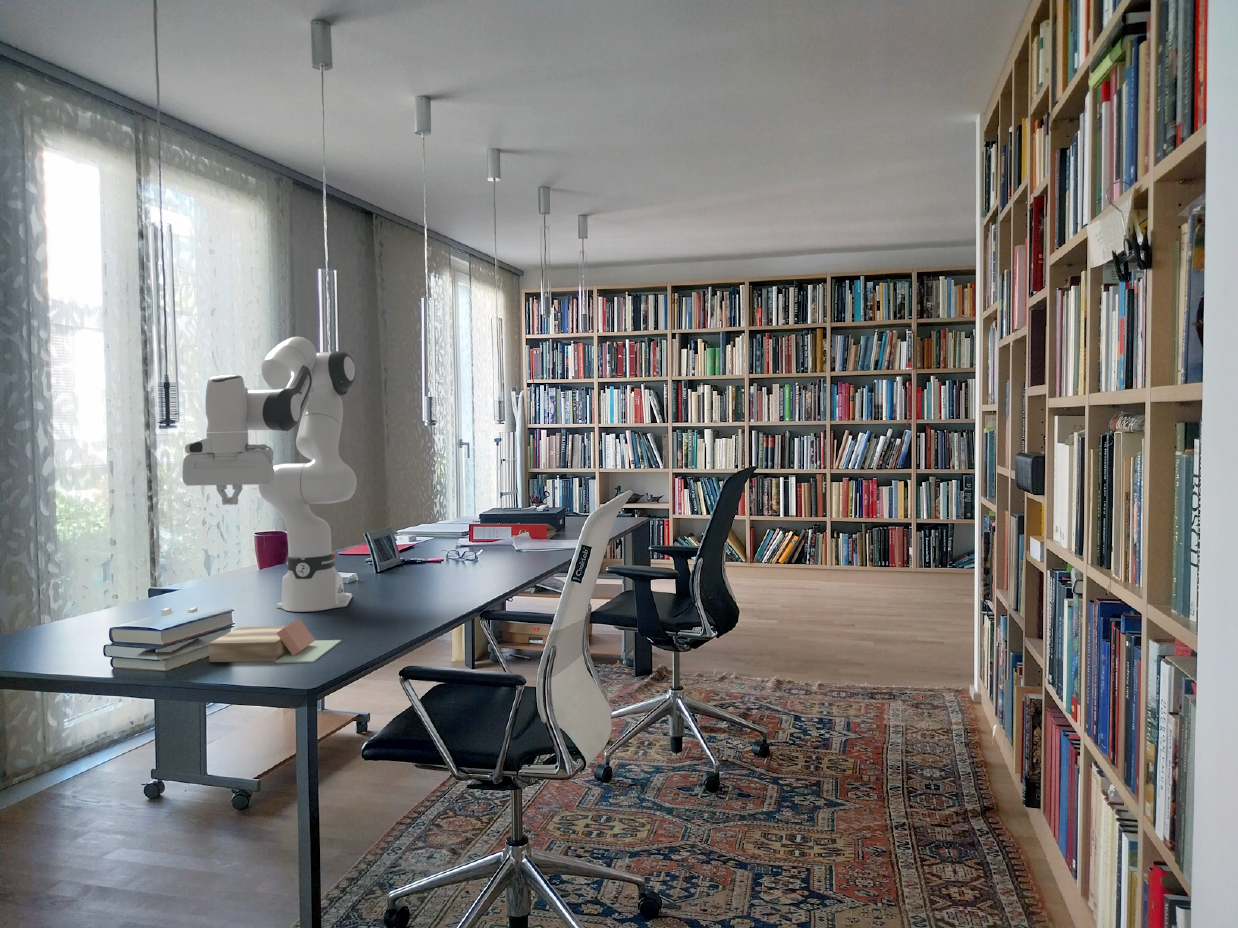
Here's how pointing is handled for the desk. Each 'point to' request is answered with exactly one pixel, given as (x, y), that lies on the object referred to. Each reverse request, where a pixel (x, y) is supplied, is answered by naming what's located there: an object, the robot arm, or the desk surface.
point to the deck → (248, 645)
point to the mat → (309, 652)
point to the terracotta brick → (296, 637)
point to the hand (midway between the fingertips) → (230, 504)
